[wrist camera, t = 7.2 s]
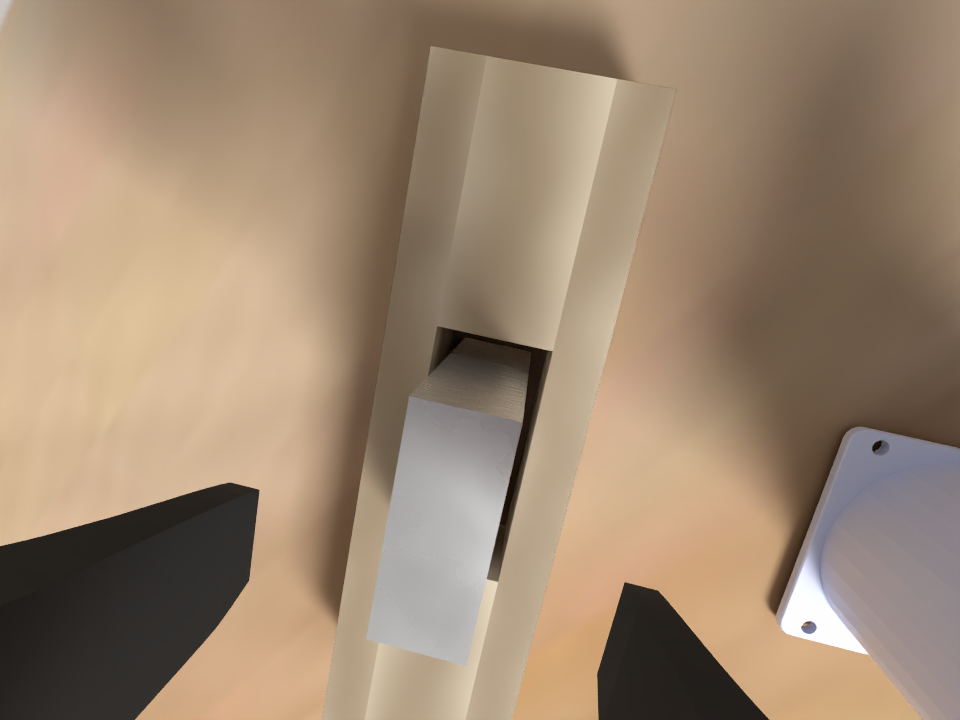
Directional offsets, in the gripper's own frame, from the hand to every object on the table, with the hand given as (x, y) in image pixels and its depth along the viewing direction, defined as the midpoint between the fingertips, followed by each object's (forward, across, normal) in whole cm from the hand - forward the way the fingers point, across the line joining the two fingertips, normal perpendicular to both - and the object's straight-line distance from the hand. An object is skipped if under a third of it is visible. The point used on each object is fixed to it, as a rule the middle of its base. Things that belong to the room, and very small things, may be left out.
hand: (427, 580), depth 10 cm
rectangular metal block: (+10, 0, 0) cm, 10 cm away
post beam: (+9, 0, 0) cm, 9 cm away
